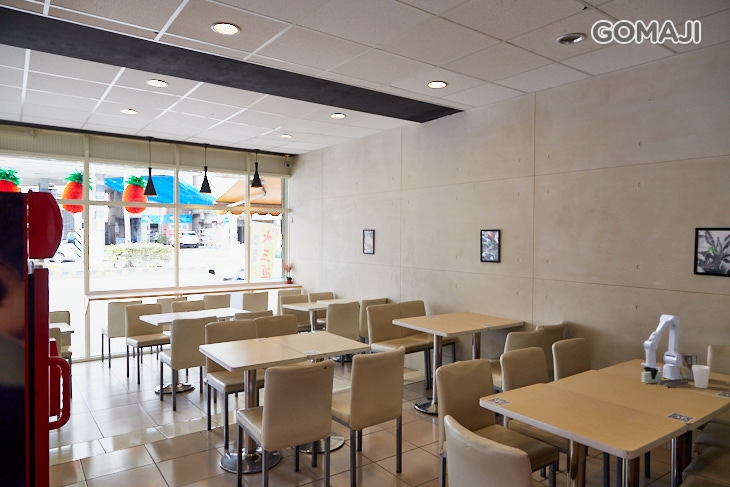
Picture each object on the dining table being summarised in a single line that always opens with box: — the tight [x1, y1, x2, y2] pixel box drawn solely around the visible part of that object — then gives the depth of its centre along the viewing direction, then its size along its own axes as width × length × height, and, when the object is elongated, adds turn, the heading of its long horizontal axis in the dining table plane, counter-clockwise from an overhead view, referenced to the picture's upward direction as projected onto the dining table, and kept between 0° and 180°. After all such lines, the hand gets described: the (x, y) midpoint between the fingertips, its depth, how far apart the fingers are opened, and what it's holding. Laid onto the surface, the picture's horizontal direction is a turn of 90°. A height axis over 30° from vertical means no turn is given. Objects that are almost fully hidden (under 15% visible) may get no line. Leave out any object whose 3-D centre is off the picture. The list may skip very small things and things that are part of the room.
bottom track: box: [656, 379, 691, 388], centre depth 307 cm, size 9×18×3 cm, turn 103°
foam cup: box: [692, 364, 710, 389], centre depth 302 cm, size 10×9×13 cm
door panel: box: [640, 370, 663, 384], centre depth 315 cm, size 2×14×7 cm, turn 104°
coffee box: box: [679, 352, 698, 381], centre depth 323 cm, size 9×6×16 cm
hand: (651, 378), depth 315 cm, fingers closed on door panel, 2 cm apart
